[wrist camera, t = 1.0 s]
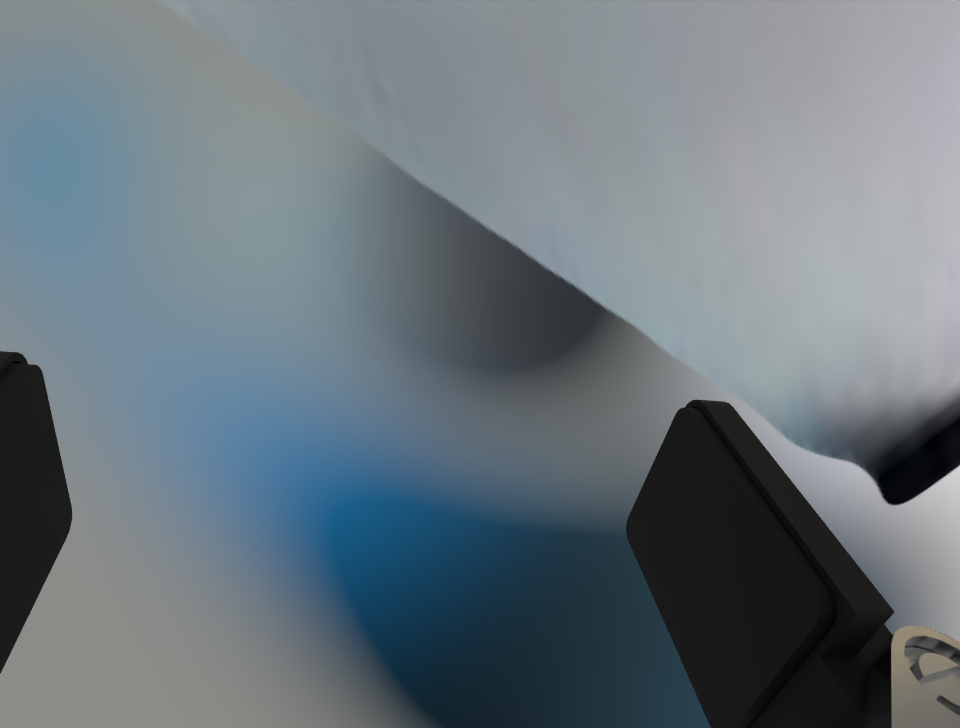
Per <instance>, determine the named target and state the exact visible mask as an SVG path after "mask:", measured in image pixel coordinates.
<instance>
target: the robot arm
mask: <svg viewBox="0 0 960 728" xmlns="http://www.w3.org/2000/svg"><path fill="white" fill-rule="evenodd" d="M71 521H72V507H71V502H70V497H69V493H68V488H67V484H66V479H65V474H64V470H63V465H62V460H61V456H60V451H59V447H58V442H57V437H56V433H55V428H54V424H53V419H52V415H51V410H50V406H49V401H48V396H47V391H46V387H45V382H44V377H43V374H42V371H41V369H40V367H39V366H37V365H29V364H28V363H27V360H26V359H25V357H24V356H23V355H22V354H20V353H17V352H3V351H0V673H1V671H2V669H3V667H4V665H5V663H6V661H7V659H8V657H9V655H10V653H11V651H12V648H13V647H14V645H15V642H16V641H17V638H18V636H19V634H20V632H21V630H22V628H23V626H24V624H25V622H26V620H27V618H28V616H29V614H30V612H31V610H32V608H33V606H34V604H35V601H36V599H37V597H38V595H39V593H40V591H41V589H42V587H43V585H44V583H45V581H46V579H47V577H48V574H49V573H50V571H51V568H52V566H53V564H54V562H55V560H56V558H57V556H58V554H59V552H60V550H61V548H62V546H63V544H64V542H65V540H66V538H67V535H68V533H69V530H70V526H71ZM626 532H627V538H628V541H629V543H630V546H631V548H632V550H633V552H634V555H635V557H636V559H637V561H638V564H639V566H640V568H641V570H642V572H643V575H644V577H645V579H646V582H647V584H648V586H649V589H650V591H651V593H652V595H653V598H654V600H655V602H656V604H657V607H658V609H659V611H660V613H661V616H662V618H663V620H664V623H665V625H666V627H667V629H668V632H669V634H670V636H671V638H672V640H673V643H674V645H675V647H676V650H677V652H678V654H679V656H680V658H681V661H682V663H683V666H684V668H685V670H686V672H687V675H688V677H689V679H690V681H691V684H692V686H693V688H694V690H695V692H696V695H697V697H698V699H699V702H700V704H701V706H702V709H703V711H704V713H705V715H706V718H707V720H708V722H709V724H710V726H711V728H960V643H959V642H958V641H956V640H955V639H953V638H951V637H950V636H948V635H945V634H943V633H941V632H938V631H936V630H933V629H931V628H927V627H921V626H916V625H912V626H905V627H901V628H900V629H899V630H898V631H896V632H895V633H894V634H893V635H892V634H891V633H890V631H889V630H888V629H887V628H886V626H885V625H884V623H885V622H886V621H887V620H888V619H889V618H890V617H891V615H892V614H893V613H894V611H893V610H892V608H891V607H890V606H889V604H888V603H887V602H886V601H885V599H884V598H883V597H882V596H881V594H880V593H879V592H878V591H877V589H876V588H875V587H874V585H873V584H872V583H871V582H870V580H869V579H868V578H867V577H866V575H865V574H864V573H863V572H862V570H861V569H860V568H859V567H858V565H857V564H856V563H855V561H854V560H853V559H852V557H851V556H850V555H849V554H848V553H847V551H846V550H845V549H844V547H843V546H842V545H841V544H840V542H839V541H838V540H837V538H836V537H835V536H834V535H833V533H832V532H831V531H830V530H829V528H828V527H827V526H826V524H825V523H824V522H823V521H822V520H821V518H820V517H819V516H818V514H817V513H816V512H815V510H814V509H813V508H812V507H811V505H810V504H809V503H808V502H807V500H806V499H805V498H804V497H803V495H802V494H801V493H800V492H799V490H798V489H797V488H796V486H795V485H794V484H793V483H792V481H791V480H790V479H789V478H788V476H787V475H786V474H785V473H784V471H783V470H782V469H781V467H780V466H779V465H778V464H777V462H776V461H775V460H774V458H773V457H772V456H771V455H770V453H769V452H768V451H767V450H766V448H765V447H764V446H763V445H762V443H761V442H760V441H759V439H758V438H757V437H756V436H755V434H754V433H753V432H752V430H751V429H750V428H749V427H748V426H747V424H746V423H745V422H744V420H743V419H742V418H741V417H740V415H739V414H738V413H737V411H736V410H735V409H734V408H733V407H732V406H731V405H730V404H729V403H727V402H721V401H707V400H693V401H691V402H689V403H688V404H687V405H686V407H685V408H681V409H680V410H678V412H677V413H676V415H675V417H674V419H673V421H672V424H671V426H670V428H669V430H668V432H667V434H666V436H665V439H664V441H663V443H662V445H661V448H660V450H659V452H658V454H657V456H656V458H655V460H654V463H653V465H652V467H651V469H650V471H649V474H648V476H647V478H646V480H645V482H644V484H643V487H642V489H641V491H640V493H639V495H638V497H637V500H636V502H635V504H634V506H633V508H632V511H631V513H630V515H629V517H628V520H627V525H626Z"/></svg>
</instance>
